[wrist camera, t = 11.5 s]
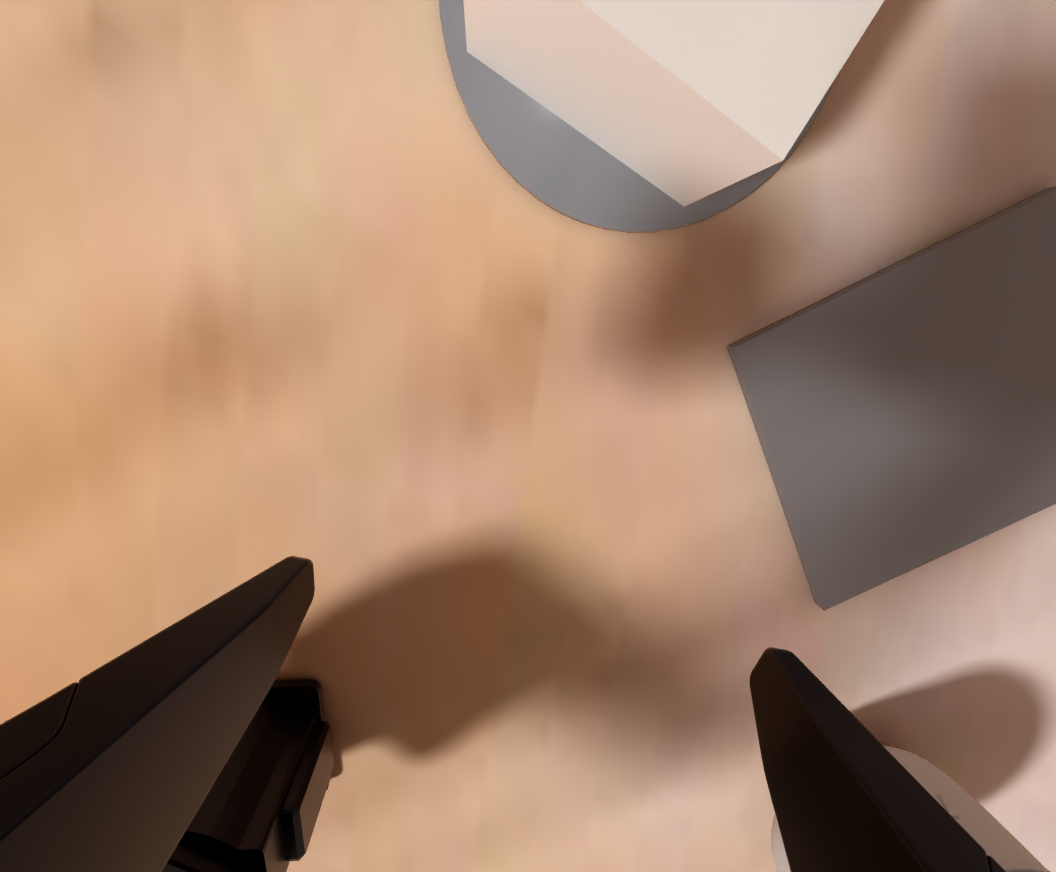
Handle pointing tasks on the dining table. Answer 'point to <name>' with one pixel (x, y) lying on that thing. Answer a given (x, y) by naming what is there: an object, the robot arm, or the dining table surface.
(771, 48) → the white brown stepped block
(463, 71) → the grey disc
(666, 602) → the dining table surface
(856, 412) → the mat
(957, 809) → the teacup
